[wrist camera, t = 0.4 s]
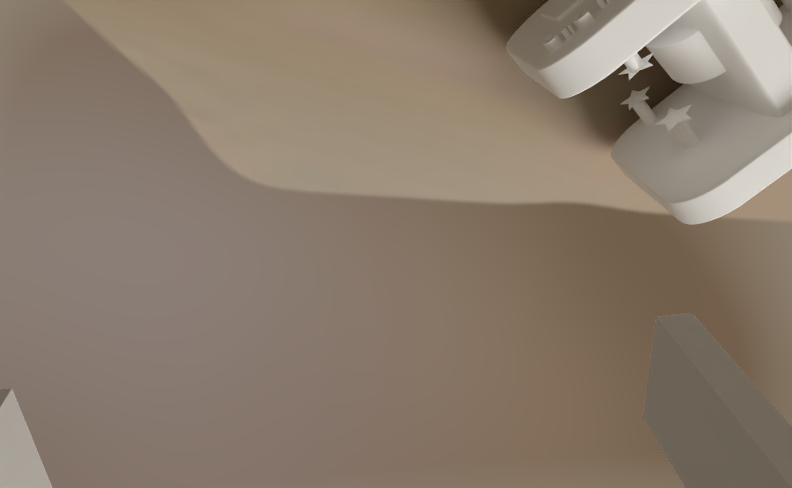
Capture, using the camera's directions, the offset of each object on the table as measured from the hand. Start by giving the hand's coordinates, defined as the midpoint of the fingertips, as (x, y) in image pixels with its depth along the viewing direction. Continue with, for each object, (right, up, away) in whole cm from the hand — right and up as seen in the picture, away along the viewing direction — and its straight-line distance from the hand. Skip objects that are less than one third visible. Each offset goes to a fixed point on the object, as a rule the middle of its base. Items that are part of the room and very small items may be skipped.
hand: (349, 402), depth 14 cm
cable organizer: (+15, +16, +23) cm, 31 cm away
